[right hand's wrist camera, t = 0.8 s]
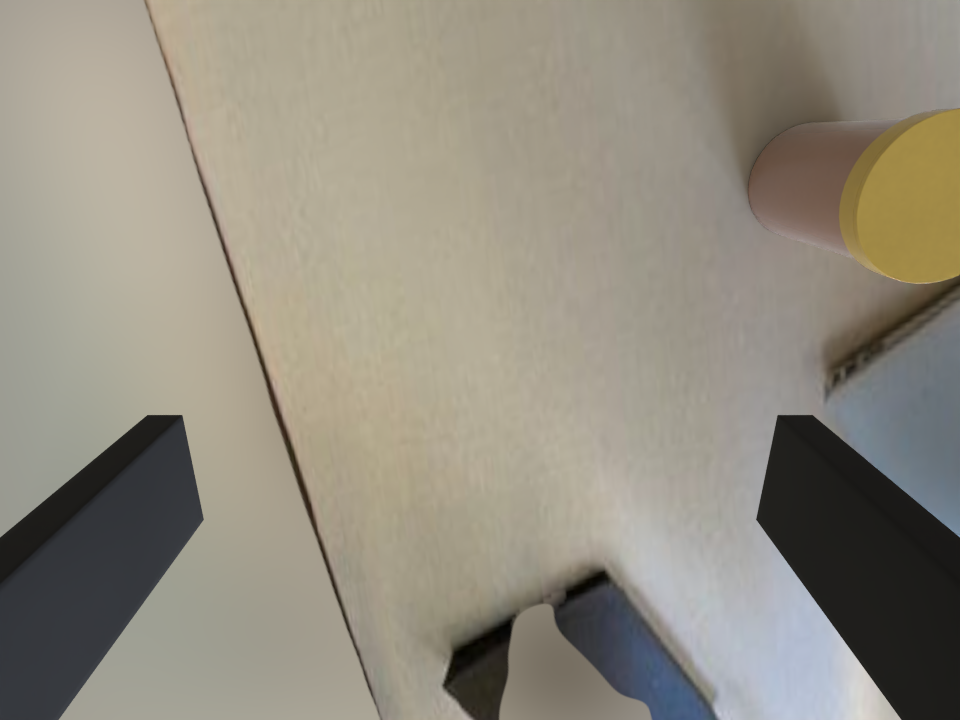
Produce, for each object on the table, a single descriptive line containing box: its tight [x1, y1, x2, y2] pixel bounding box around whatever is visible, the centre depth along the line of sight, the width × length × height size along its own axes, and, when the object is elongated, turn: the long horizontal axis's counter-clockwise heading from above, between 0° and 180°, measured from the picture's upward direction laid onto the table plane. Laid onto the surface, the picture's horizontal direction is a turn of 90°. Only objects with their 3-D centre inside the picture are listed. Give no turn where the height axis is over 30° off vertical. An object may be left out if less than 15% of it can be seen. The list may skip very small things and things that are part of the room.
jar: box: [748, 118, 907, 259], centre depth 42 cm, size 9×9×16 cm
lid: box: [839, 108, 960, 284], centre depth 36 cm, size 10×10×2 cm
